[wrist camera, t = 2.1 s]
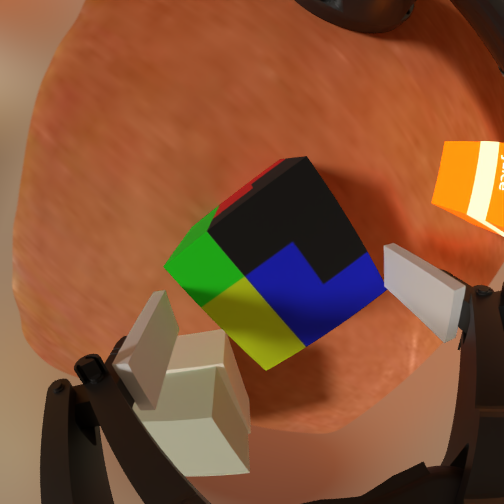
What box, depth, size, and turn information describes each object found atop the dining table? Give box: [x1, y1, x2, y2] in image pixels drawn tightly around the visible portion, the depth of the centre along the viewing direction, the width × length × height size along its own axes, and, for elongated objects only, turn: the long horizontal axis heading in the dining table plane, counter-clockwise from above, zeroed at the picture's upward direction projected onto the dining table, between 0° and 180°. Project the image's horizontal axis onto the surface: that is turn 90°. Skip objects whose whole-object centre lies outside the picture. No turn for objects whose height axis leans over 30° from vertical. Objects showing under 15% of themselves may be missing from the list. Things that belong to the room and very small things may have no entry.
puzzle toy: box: [163, 156, 387, 371], centre depth 20 cm, size 10×10×10 cm
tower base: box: [166, 329, 251, 434], centre depth 28 cm, size 12×12×6 cm
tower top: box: [132, 366, 250, 476], centre depth 22 cm, size 11×11×6 cm
